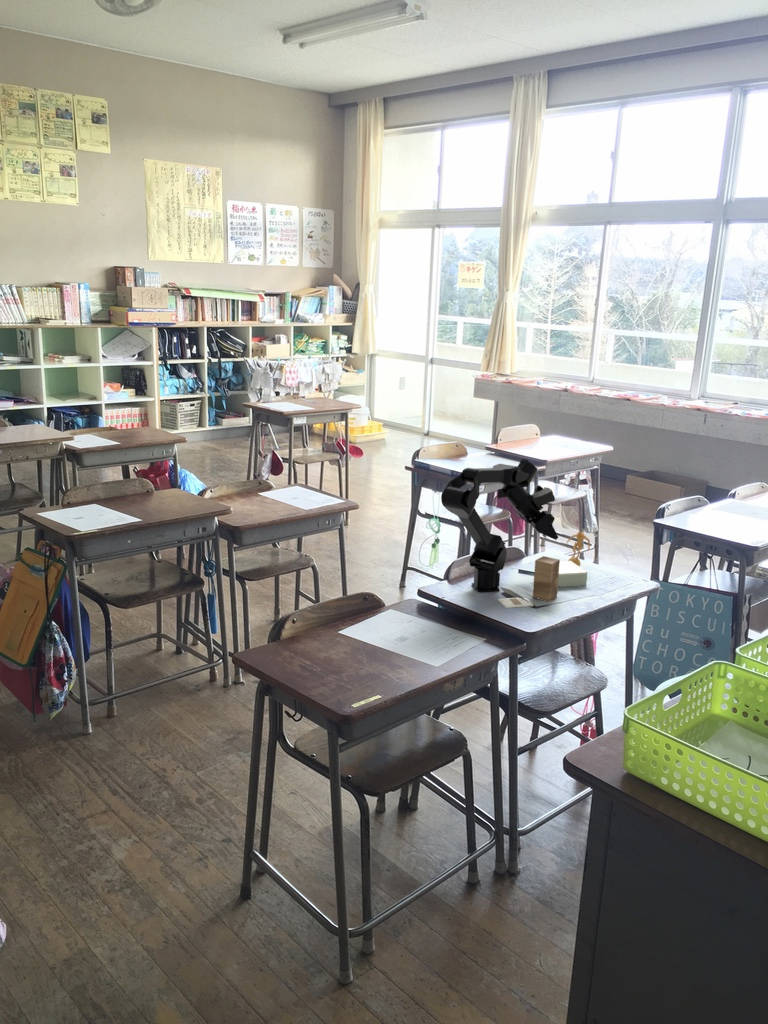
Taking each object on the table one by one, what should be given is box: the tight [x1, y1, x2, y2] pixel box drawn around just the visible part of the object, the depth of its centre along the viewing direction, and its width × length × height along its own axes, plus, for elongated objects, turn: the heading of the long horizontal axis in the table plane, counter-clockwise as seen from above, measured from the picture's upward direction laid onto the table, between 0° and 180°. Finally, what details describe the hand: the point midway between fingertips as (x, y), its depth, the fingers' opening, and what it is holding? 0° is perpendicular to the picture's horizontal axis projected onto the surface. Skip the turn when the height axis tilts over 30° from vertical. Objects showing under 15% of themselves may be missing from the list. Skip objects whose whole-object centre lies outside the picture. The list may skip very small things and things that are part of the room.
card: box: [497, 597, 534, 609], centre depth 223 cm, size 8×6×1 cm
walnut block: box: [532, 556, 561, 602], centre depth 227 cm, size 5×5×11 cm
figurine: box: [565, 531, 591, 567], centre depth 252 cm, size 8×6×12 cm
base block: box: [558, 560, 588, 588], centre depth 243 cm, size 11×11×4 cm
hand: (551, 534), depth 243 cm, fingers open, 9 cm apart
